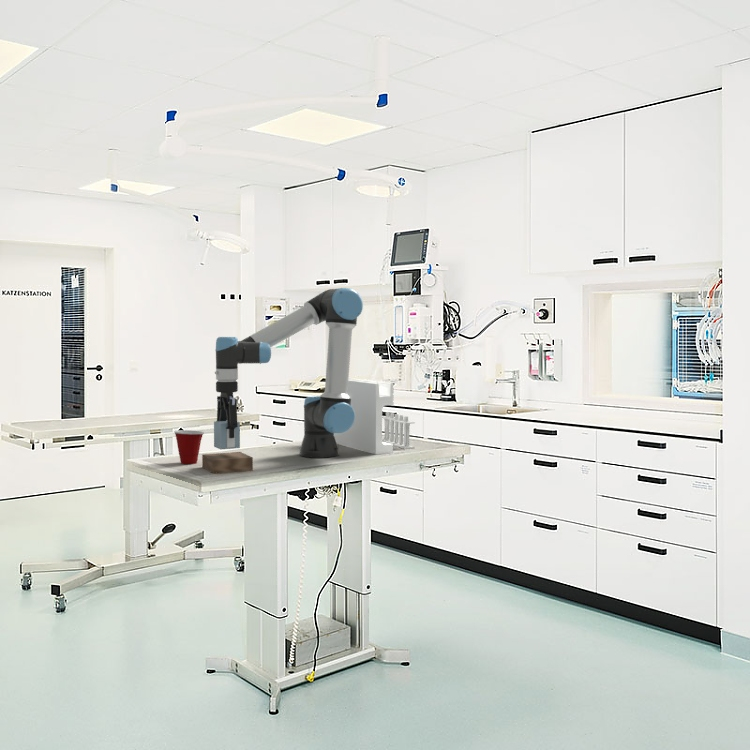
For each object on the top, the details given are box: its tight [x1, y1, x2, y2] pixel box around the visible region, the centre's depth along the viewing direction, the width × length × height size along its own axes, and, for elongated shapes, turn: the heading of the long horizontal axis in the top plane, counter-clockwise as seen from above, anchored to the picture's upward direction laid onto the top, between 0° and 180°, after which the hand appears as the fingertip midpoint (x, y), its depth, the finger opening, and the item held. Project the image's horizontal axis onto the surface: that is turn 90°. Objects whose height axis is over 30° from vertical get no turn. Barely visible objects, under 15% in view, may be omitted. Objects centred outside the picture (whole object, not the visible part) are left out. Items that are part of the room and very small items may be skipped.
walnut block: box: [201, 451, 254, 475], centre depth 284 cm, size 14×14×5 cm
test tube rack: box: [382, 411, 416, 450], centre depth 344 cm, size 25×4×13 cm, turn 25°
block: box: [334, 377, 395, 456], centre depth 334 cm, size 35×8×28 cm, turn 31°
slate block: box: [213, 420, 241, 450], centre depth 284 cm, size 7×7×9 cm
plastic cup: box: [173, 429, 205, 465], centre depth 295 cm, size 11×11×12 cm
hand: (227, 445), depth 284 cm, fingers closed on slate block, 7 cm apart
